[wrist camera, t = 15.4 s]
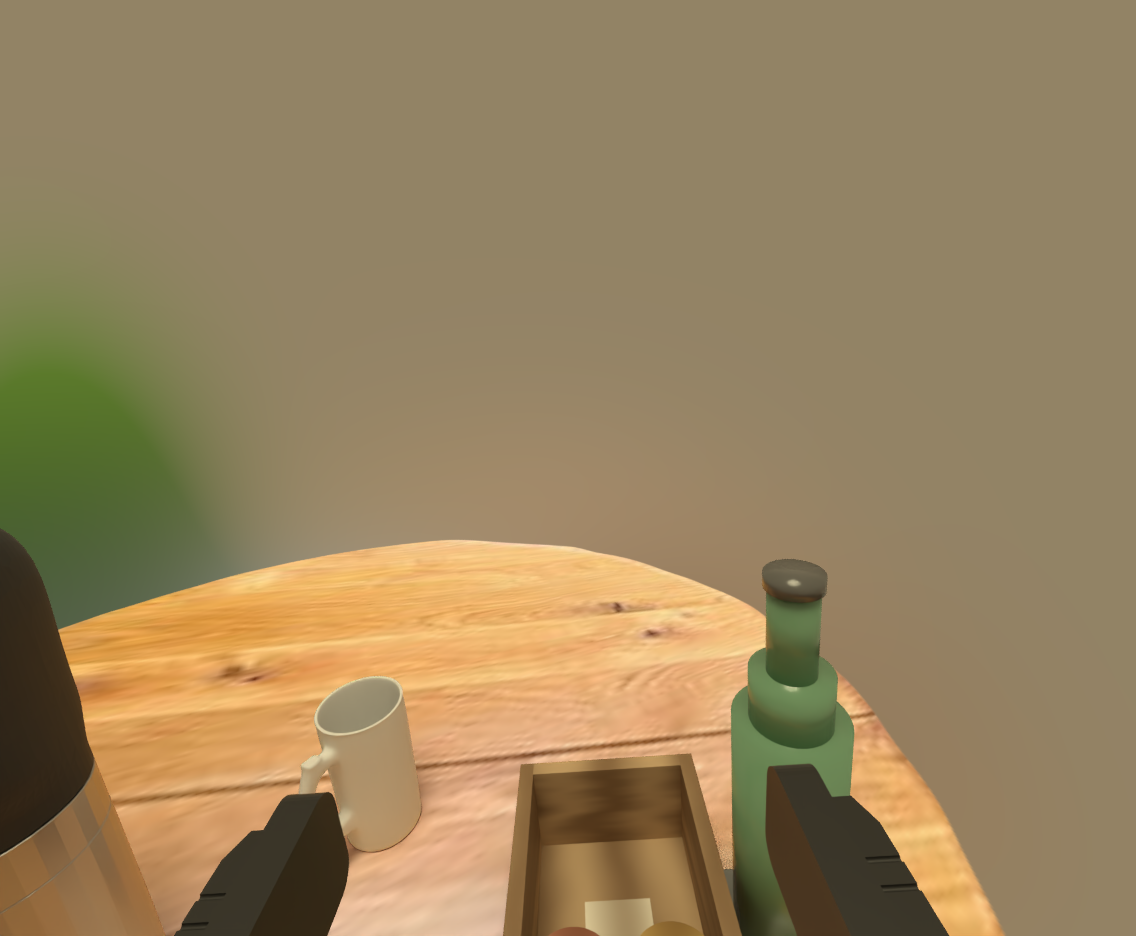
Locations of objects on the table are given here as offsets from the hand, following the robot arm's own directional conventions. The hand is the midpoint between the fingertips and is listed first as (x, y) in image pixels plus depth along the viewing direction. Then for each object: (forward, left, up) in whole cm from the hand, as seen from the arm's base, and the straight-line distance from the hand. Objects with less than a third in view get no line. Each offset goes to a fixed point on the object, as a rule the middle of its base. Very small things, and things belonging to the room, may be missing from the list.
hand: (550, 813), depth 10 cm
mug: (-32, +9, -32) cm, 46 cm away
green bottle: (-2, +20, -31) cm, 37 cm away
